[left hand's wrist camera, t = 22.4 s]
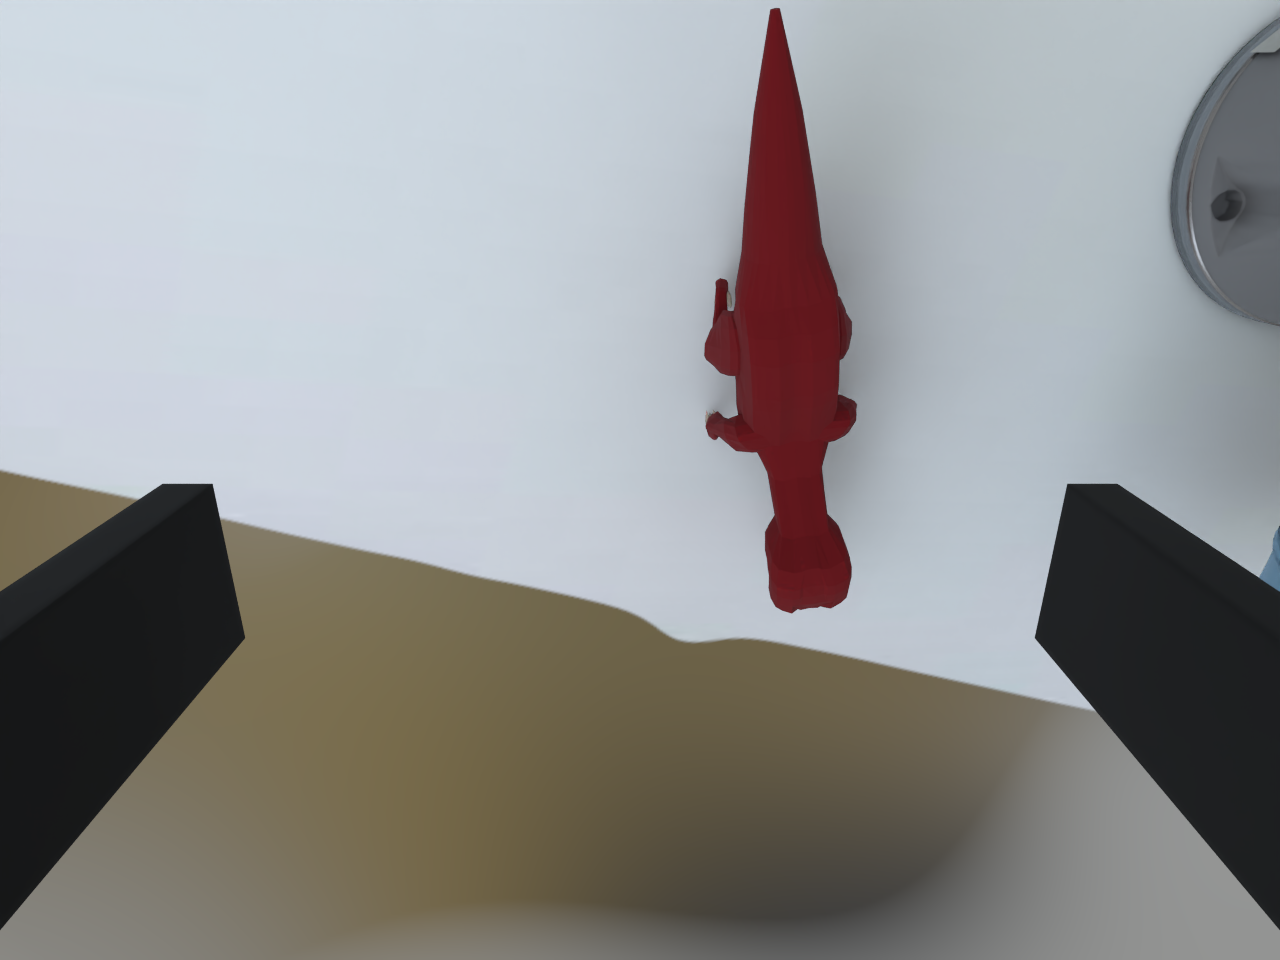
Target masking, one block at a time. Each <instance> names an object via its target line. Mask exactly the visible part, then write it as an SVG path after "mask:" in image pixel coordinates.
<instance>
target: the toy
mask: <svg viewBox="0 0 1280 960" xmlns="http://www.w3.org/2000/svg"><path fill="white" fill-rule="evenodd" d="M735 295H736V301H735V307H734V311H728V310H727V304H728V306H729V307H730V308H731V306H732V300H731V294H730V293H729V291H728V282H727V280H725V279H721V278H720V279H718V280H717V281H716V295H715V310H714V318H713V327H712V328H711V330H710V333H709V335H708V338H707V340H706V342H705V353H704V356H705V358H706V360H707V361H709V362H710V363H711V364H712V365H713V366H714V367H715V368H716V369H717V370H718V371H719V372H720V373H722V374H725V375H728V376H735V377H736V402H737V410H738V415H737V416H735V417H732V418H729V419H727V418H724V417H723V416H722V415H721V414H720V413H719V412H718V411H717V412H716V413H715V412H714V410H713V414H712V415H711V414H710V415H708V413H707V410H706V420H705V422H706V429H707V432H708V435H709V437H711V438H712V439H713V440H716V439H717V438H718V437H720V438H721V439H723V440H724V441H725V442H726V443H727V444H729V445H730V446H731V447H732V448H733V449H734V450H736V451H742V452H757V453H758V455H759V456H760V458H761V460H762V462H763V464H764V467H765V469H766V471H767V473H768V479H769V484H770V490H771V496H772V502H773V508H774V514H775V515H774V517H773V519H772V520H771V522H770V524H769V525H768V528H767V530H766V531H765V552H766V556H767V564H768V572H769V592H770V597H771V599H772V601H773V603H774V605H775V606H776V607H777V608H779V609H780V610H782V611H786V612H789V613H793V612H794V611H796V610H797V609H800V610H802V609H807V608H818V607H820V606H822V607H826V608H832V607H834V606H836V605H838V604H839V603H841V602H842V601H843V600H844V599H845V598H846V597H847V593H848V589H849V585H850V581H851V572H852V567H851V562H850V557H849V554H848V550H847V547H846V545H845V542H844V539H843V536H842V534H841V531H840V528H839V526H838V525H837V523H836V522H835V521H834V520H833V519H832V518H831V517H830V516H829V515H828V514H827V509H826V501H825V493H824V484H823V474H822V464H823V461H824V457H825V453H826V449H827V446H828V442H831V441H835V440H837V439H839V438H841V437H843V436H845V435H846V434H847V433H848V432H849V431H850V429H851V427H852V426H853V424H854V423H855V421H856V408H857V404H856V403H855V401H853V400H851V399H849V398H847V397H844V396H842V395H838V387H839V360H840V359H843V358H844V356H845V354H846V352H847V350H848V349H849V344H850V340H851V335H852V321H851V320H850V318H849V317H848V315H847V314H846V311H845V307H844V305H843V303H842V301H841V298H840V297H839V296H838V290H837V286H836V283H835V280H834V277H833V274H832V271H831V268H830V265H829V263H828V260H827V257H826V254H825V251H824V248H823V245H822V239H821V231H820V223H819V215H818V207H817V198H816V191H815V185H814V179H813V173H812V166H811V160H810V154H809V148H808V141H807V135H806V129H805V123H804V116H803V110H802V105H801V101H800V96H799V92H798V87H797V83H796V78H795V74H794V70H793V65H792V61H791V56H790V52H789V47H788V43H787V38H786V34H785V30H784V25H783V21H782V16H781V12H780V8H774V9H771V10H770V15H769V21H768V28H767V34H766V40H765V46H764V53H763V59H762V65H761V71H760V78H759V84H758V90H757V96H756V103H755V109H754V116H753V126H752V135H751V145H750V155H749V165H748V176H747V186H746V197H745V208H744V223H743V238H742V252H741V258H740V264H739V270H738V276H737V282H736V288H735Z"/></svg>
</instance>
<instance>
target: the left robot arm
mask: <svg viewBox="0 0 1280 960" xmlns="http://www.w3.org/2000/svg"><path fill="white" fill-rule="evenodd" d="M1171 215H1172V226H1173V231H1174V236H1175V241H1176V244H1177V247H1178V250H1179V253H1180V256H1181V258H1182V260H1183V262H1184V265H1185V267H1186V268H1187V270H1188V272H1189V273H1190V275H1191V277H1192V278H1193V279H1194V281H1195V282H1196V283H1197V284H1198V286H1199V287H1200V288H1201V289H1202V290H1203V291H1204V292H1205V293H1206V294H1207V295H1208V296H1209V297H1210V298H1212V299H1213V300H1214V301H1215V302H1217V303H1218V304H1219V305H1221V306H1223V307H1225V308H1226V309H1228V310H1230V311H1232V312H1234V313H1236V314H1238V315H1241V316H1243V317H1247V318H1250V319H1253V320H1257V321H1261V322H1265V323H1269V324H1273V325H1277V326H1280V18H1279V19H1277V20H1276V21H1274V22H1273V23H1271V24H1270V25H1269V26H1268V27H1266V28H1265V29H1264V30H1263V31H1261V32H1260V33H1259V34H1257V35H1256V36H1255V37H1254V38H1253V39H1252V40H1251V41H1250V42H1249V43H1248V44H1247V45H1245V46H1244V47H1243V48H1242V49H1241V50H1240V51H1239V53H1238V54H1237V55H1236V56H1235V57H1234V58H1233V59H1232V60H1231V61H1230V62H1229V63H1228V65H1227V66H1226V67H1225V68H1224V70H1223V71H1222V72H1221V73H1220V75H1219V76H1218V77H1217V78H1216V80H1215V81H1214V83H1213V84H1212V86H1211V87H1210V89H1209V90H1208V91H1207V93H1206V94H1205V96H1204V98H1203V100H1202V101H1201V103H1200V105H1199V106H1198V108H1197V110H1196V112H1195V114H1194V116H1193V118H1192V120H1191V122H1190V124H1189V126H1188V129H1187V131H1186V134H1185V137H1184V139H1183V142H1182V144H1181V148H1180V151H1179V154H1178V158H1177V161H1176V166H1175V171H1174V176H1173V184H1172V192H1171ZM244 639H245V635H244V630H243V625H242V621H241V616H240V611H239V606H238V602H237V597H236V593H235V588H234V583H233V578H232V573H231V569H230V564H229V559H228V555H227V550H226V545H225V541H224V536H223V531H222V526H221V521H220V517H219V512H218V507H217V503H216V498H215V493H214V488H213V484H162V485H160V486H159V487H157V488H156V489H154V490H153V491H151V492H150V493H148V494H147V495H145V496H144V497H142V498H141V499H139V500H138V501H136V502H135V503H133V504H132V505H130V506H129V507H127V508H126V509H124V510H123V511H121V512H120V513H118V514H117V515H115V516H114V517H112V518H111V519H109V520H107V521H106V522H105V523H103V524H102V525H100V526H98V527H97V528H95V529H94V530H92V531H91V532H89V533H88V534H86V535H85V536H83V537H82V538H80V539H79V540H77V541H76V542H74V543H73V544H71V545H70V546H68V547H67V548H65V549H64V550H62V551H61V552H59V553H58V554H56V555H55V556H53V557H52V558H50V559H49V560H47V561H46V562H44V563H43V564H41V565H40V566H38V567H37V568H35V569H34V570H32V571H31V572H29V573H28V574H26V575H25V576H23V577H22V578H20V579H19V580H17V581H16V582H14V583H13V584H11V585H10V586H8V587H6V588H5V589H4V590H2V591H0V930H1V928H2V927H3V926H4V925H5V924H6V922H7V921H8V920H9V919H10V918H11V917H12V915H13V914H14V913H15V912H16V911H17V909H18V908H19V907H20V906H21V905H22V903H23V902H24V901H25V900H26V899H27V897H28V896H29V895H30V894H31V893H32V891H33V890H34V889H35V888H36V887H37V886H38V884H39V883H40V882H41V881H42V880H43V878H44V877H45V876H46V875H47V874H48V872H49V871H50V870H51V869H52V868H53V866H54V865H55V864H56V863H57V862H58V861H59V859H60V858H61V857H62V856H63V855H64V853H65V852H66V851H67V850H68V849H69V847H70V846H71V845H72V844H73V843H74V841H75V840H76V839H77V838H78V837H79V835H80V834H81V833H82V832H83V831H84V830H85V828H86V827H87V826H88V825H89V824H90V822H91V821H92V820H93V819H94V818H95V816H96V815H97V814H98V813H99V812H100V810H101V809H102V808H103V807H104V806H105V804H106V803H107V802H108V801H109V800H110V799H111V797H112V796H113V795H114V794H115V793H116V791H117V790H118V789H119V788H120V787H121V785H122V784H123V783H124V782H125V781H126V779H127V778H128V777H129V776H130V775H131V773H132V772H133V771H134V770H135V769H136V768H137V766H138V765H139V764H140V763H141V762H142V760H143V759H144V758H145V757H146V756H147V754H148V753H149V752H150V751H151V750H152V748H153V747H154V746H155V745H156V744H157V742H158V741H159V740H160V739H161V738H162V737H163V735H164V734H165V733H166V732H167V730H168V729H169V728H170V727H171V726H172V725H173V723H174V722H175V721H176V720H177V719H178V717H179V716H180V715H181V714H182V713H183V711H184V710H185V709H186V708H187V707H188V706H189V704H190V703H191V702H192V701H193V700H194V698H195V697H196V696H197V695H198V694H199V692H200V691H201V690H202V689H203V688H204V686H205V685H206V684H207V683H208V682H209V680H210V679H211V678H212V677H213V676H214V675H215V673H216V672H217V671H218V670H219V668H220V667H221V666H222V665H223V664H224V663H225V661H226V660H227V659H228V658H229V657H230V655H231V654H232V653H233V652H234V651H235V650H236V648H237V647H238V646H239V645H240V644H241V642H242V641H243V640H244ZM1035 639H1036V640H1037V641H1038V642H1039V644H1040V645H1041V646H1042V647H1043V648H1044V650H1045V651H1046V652H1047V653H1048V654H1049V655H1050V657H1051V658H1052V659H1053V660H1054V661H1055V663H1056V664H1057V665H1058V666H1059V667H1060V669H1061V670H1062V671H1063V672H1064V673H1065V675H1066V676H1067V677H1068V678H1069V679H1070V680H1071V682H1072V683H1073V684H1074V685H1075V686H1076V688H1077V689H1078V690H1079V691H1080V692H1081V694H1082V695H1083V696H1084V697H1085V698H1086V700H1087V701H1088V702H1089V703H1090V704H1091V706H1092V707H1093V708H1094V709H1095V710H1096V711H1097V713H1098V714H1099V715H1100V716H1101V717H1102V719H1103V720H1104V721H1105V722H1106V723H1107V725H1108V726H1109V727H1110V728H1111V729H1112V731H1113V732H1114V733H1115V734H1116V735H1117V736H1118V738H1119V739H1120V740H1121V741H1122V742H1123V744H1124V745H1125V746H1126V747H1127V748H1128V750H1129V751H1130V752H1131V753H1132V754H1133V756H1134V757H1135V758H1136V759H1137V760H1138V762H1139V763H1140V764H1141V765H1142V766H1143V768H1144V769H1145V770H1146V771H1147V772H1148V773H1149V775H1150V776H1151V777H1152V778H1153V779H1154V781H1155V782H1156V783H1157V784H1158V785H1159V787H1160V788H1161V789H1162V790H1163V791H1164V793H1165V794H1166V795H1167V796H1168V797H1169V798H1170V800H1171V801H1172V802H1173V803H1174V804H1175V806H1176V807H1177V808H1178V809H1179V810H1180V812H1181V813H1182V814H1183V815H1184V816H1185V817H1186V819H1187V820H1188V821H1189V822H1190V824H1191V825H1192V826H1193V827H1194V828H1195V830H1196V831H1197V832H1198V833H1199V834H1200V835H1201V837H1202V838H1203V839H1204V840H1205V841H1206V843H1207V844H1208V845H1209V846H1210V847H1211V849H1212V850H1213V851H1214V852H1215V853H1216V855H1217V856H1218V857H1219V858H1220V859H1221V861H1222V862H1223V863H1224V864H1225V865H1226V866H1227V868H1228V869H1229V870H1230V871H1231V872H1232V874H1233V875H1234V876H1235V877H1236V878H1237V880H1238V881H1239V882H1240V883H1241V884H1242V886H1243V887H1244V888H1245V889H1246V890H1247V891H1248V893H1249V894H1250V895H1251V896H1252V897H1253V899H1254V900H1255V901H1256V902H1257V903H1258V905H1259V906H1260V907H1261V908H1262V909H1263V911H1264V912H1265V913H1266V914H1267V915H1268V917H1269V918H1270V919H1271V920H1272V921H1273V922H1274V924H1275V925H1276V926H1277V927H1278V928H1279V930H1280V526H1279V528H1278V530H1277V531H1276V532H1275V535H1274V539H1273V551H1272V553H1271V555H1270V558H1269V560H1268V562H1267V564H1266V566H1265V568H1264V570H1263V571H1262V573H1261V575H1260V577H1259V578H1258V577H1257V576H1255V575H1254V574H1252V573H1251V572H1249V571H1248V570H1246V569H1245V568H1243V567H1242V566H1240V565H1239V564H1237V563H1236V562H1234V561H1233V560H1231V559H1230V558H1228V557H1227V556H1225V555H1224V554H1222V553H1221V552H1219V551H1218V550H1216V549H1215V548H1213V547H1212V546H1210V545H1209V544H1207V543H1206V542H1204V541H1203V540H1201V539H1200V538H1198V537H1197V536H1195V535H1194V534H1192V533H1191V532H1189V531H1188V530H1186V529H1185V528H1183V527H1182V526H1180V525H1179V524H1177V523H1176V522H1174V521H1173V520H1171V519H1170V518H1168V517H1166V516H1165V515H1163V514H1162V513H1160V512H1159V511H1157V510H1156V509H1154V508H1153V507H1151V506H1150V505H1148V504H1147V503H1145V502H1144V501H1142V500H1141V499H1139V498H1138V497H1136V496H1135V495H1133V494H1132V493H1130V492H1129V491H1127V490H1126V489H1124V488H1123V487H1121V486H1120V485H1118V484H1067V488H1066V493H1065V498H1064V503H1063V507H1062V512H1061V517H1060V521H1059V526H1058V531H1057V536H1056V540H1055V545H1054V550H1053V555H1052V559H1051V564H1050V569H1049V573H1048V578H1047V583H1046V588H1045V592H1044V597H1043V602H1042V606H1041V611H1040V616H1039V621H1038V625H1037V630H1036V635H1035Z"/></svg>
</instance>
